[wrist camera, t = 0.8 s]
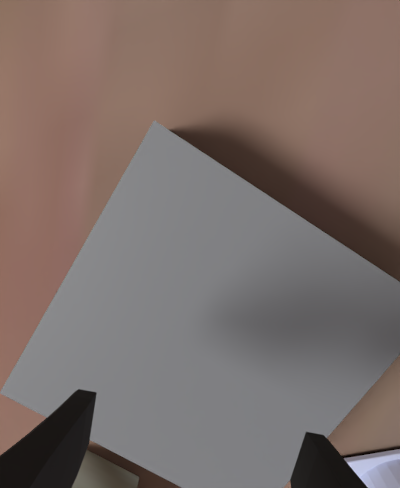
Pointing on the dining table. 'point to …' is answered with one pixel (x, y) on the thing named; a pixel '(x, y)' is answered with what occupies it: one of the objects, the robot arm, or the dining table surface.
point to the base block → (209, 325)
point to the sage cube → (103, 474)
